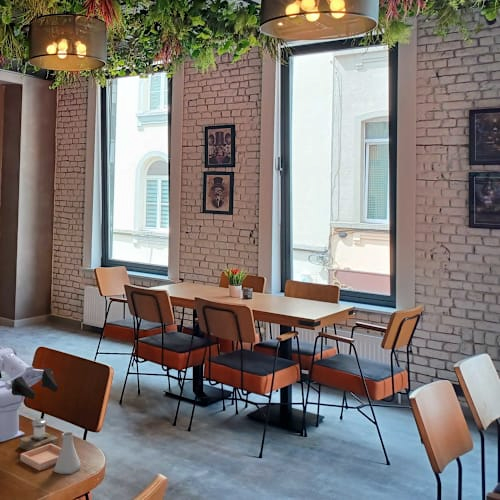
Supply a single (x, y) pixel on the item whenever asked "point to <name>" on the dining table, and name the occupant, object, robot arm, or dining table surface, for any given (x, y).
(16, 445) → the dining table surface
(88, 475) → the dining table surface
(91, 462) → the dining table surface
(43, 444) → the brown square frame
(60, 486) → the dining table surface
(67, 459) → the flask
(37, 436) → the pin
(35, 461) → the tray
